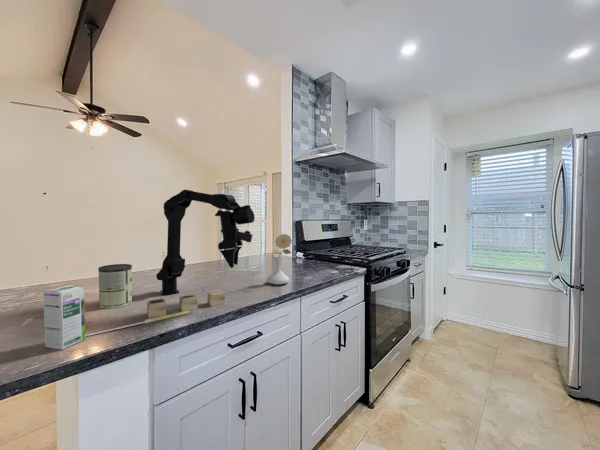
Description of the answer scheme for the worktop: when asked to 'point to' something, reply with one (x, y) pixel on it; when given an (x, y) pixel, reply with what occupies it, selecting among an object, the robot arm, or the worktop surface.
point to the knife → (147, 321)
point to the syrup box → (64, 316)
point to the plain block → (216, 298)
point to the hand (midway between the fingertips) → (234, 266)
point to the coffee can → (115, 285)
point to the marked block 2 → (188, 302)
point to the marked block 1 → (156, 308)
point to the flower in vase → (278, 275)
